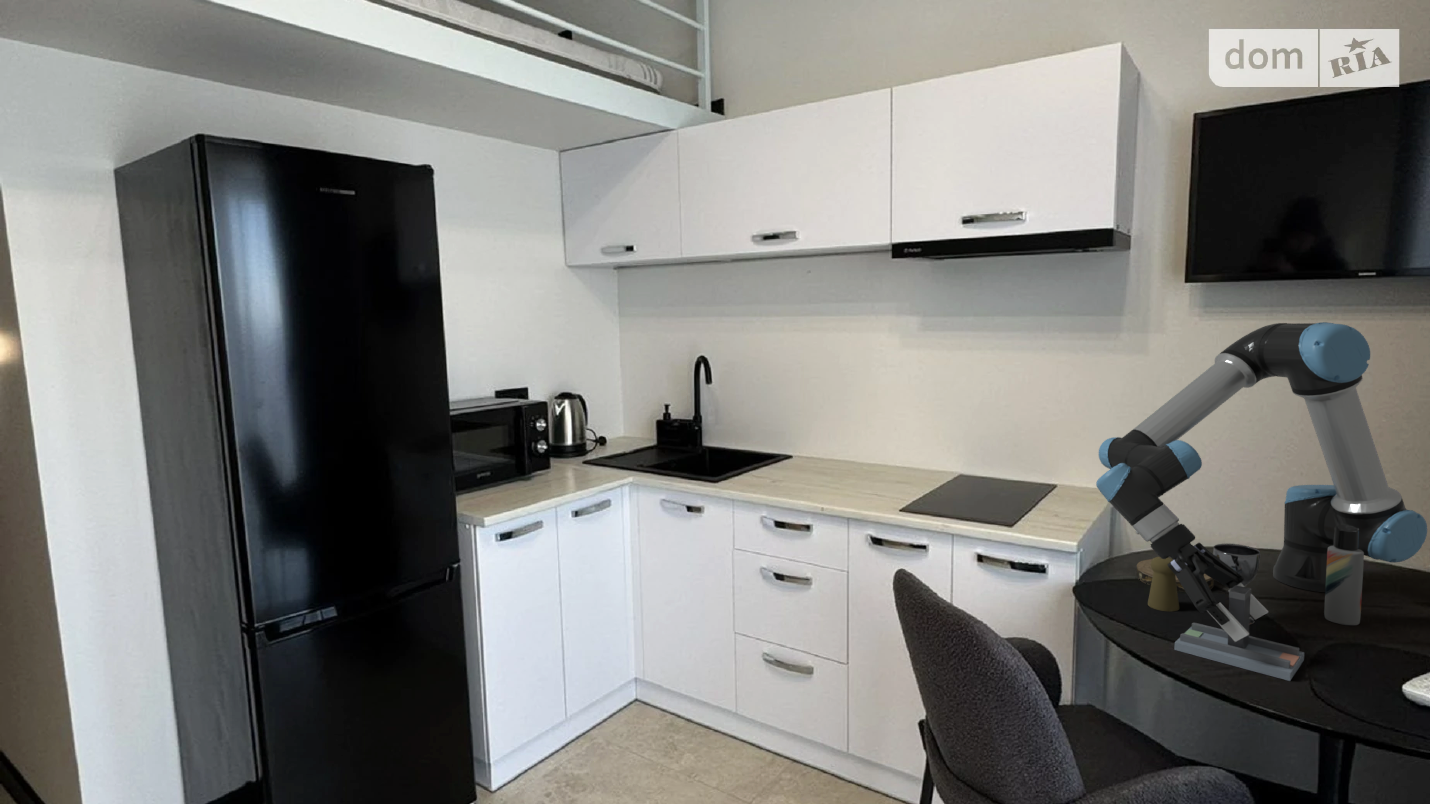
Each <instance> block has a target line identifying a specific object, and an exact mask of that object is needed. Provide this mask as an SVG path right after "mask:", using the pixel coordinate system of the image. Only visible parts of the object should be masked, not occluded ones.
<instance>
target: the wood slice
mask: <svg viewBox="0 0 1430 804" xmlns="http://www.w3.org/2000/svg"><path fill="white" fill-rule="evenodd" d="M1152 559H1153V558H1149V559H1143V560H1140V561H1138V563H1137V564H1136V577H1137V579H1138V580H1139V579H1140V580H1139V581H1141V582H1142V583H1144V584H1146V583H1147V584H1146V585H1149V586H1151V583H1152V577H1153V572H1154V571H1153V570H1152V569H1151V561H1152ZM1175 577H1176V575H1175ZM1204 578H1205V580H1206V582H1207V584H1208V586H1209V588H1210V590H1212V589H1213V588H1214V586H1215V580H1214V579H1212V578H1211V577H1209V576H1207V575H1206V574H1204ZM1176 585H1177V592H1183V593H1186V591H1185V590H1184V588H1183V586H1182V585H1181V583H1180V582H1179V580H1178V578H1177V577H1176Z"/></svg>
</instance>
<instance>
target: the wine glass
mask: <svg viewBox="0 0 1430 804" xmlns="http://www.w3.org/2000/svg"><path fill="white" fill-rule="evenodd" d="M1212 554H1213V555H1215V556H1216V557H1218V558H1219V559H1220V560H1222V561H1223V562H1224V563H1226V564H1227V565H1228V566H1230V567H1231V568H1232V569H1234V570H1235V571H1236V572H1238V573H1239V574H1240V575H1241V576H1242V577H1243V578H1244V581H1242V582H1240V583H1242V584H1243V585H1244V586H1245V587H1247V585H1248V584H1250V583H1251V582H1252V581H1253V580H1255V578H1256V576H1257V574H1258V571H1259V568H1260V560H1261V552H1260V550H1259V549H1257V548H1255V547H1253V546H1249V545H1244V544H1238V543H1217V544H1214V545H1213V553H1212ZM1230 589H1231V588H1228V590H1230ZM1254 620H1255V619H1254V618H1253V617H1252V616H1250V621H1249V626H1250V625H1253V624H1254V623H1255V622H1256V620H1255V621H1254Z"/></svg>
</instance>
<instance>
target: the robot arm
mask: <svg viewBox="0 0 1430 804" xmlns="http://www.w3.org/2000/svg"><path fill="white" fill-rule="evenodd" d="M1370 360H1371V349H1370V346H1369V342H1368V341H1367V339H1366V338H1365V335H1363V334H1362V333H1361V332H1360V331H1359V330H1357V329H1356V328H1354V327H1352V326H1349V325H1347V324H1341V323H1334V322H1324V321H1323V322H1317V323H1316V322H1315V323H1313V322H1312V323H1310V322H1309V323H1302V322H1301V323H1300V322H1299V323H1294V322H1293V323H1287V322H1278V323H1272V324H1268V325H1264V326H1262V327H1260V328H1257V329H1255V330H1252V331H1251V332H1249V333H1247V334H1245V335H1244V336H1242V337H1240V338H1239V339H1237V340H1236V341H1234V342H1233V343H1232V344H1230V345H1229V346H1227V347H1226V348H1225V349H1223V350H1222V351H1221V352H1220V353H1219V354H1217V355H1216V356H1215V358H1214V364H1213V365H1211V366H1210V367H1209V368H1208V369H1206V370H1205V371H1204V372H1202V374H1200V375H1199V376H1197V377H1196V378H1195V379H1193V381H1191V382H1190V383H1188V384H1187V385H1186V386H1185V387H1184V388H1182V389H1181V390H1180V391H1178V393H1176V394H1175V395H1174V396H1172V397H1171V398H1170V399H1169V400H1168V401H1167V402H1165V403H1164V404H1163V405H1161V406H1160V407H1159V408H1158V409H1157V410H1155V411H1153V413H1151V414H1150V415H1149V416H1148V417H1147V418H1145V419H1144V420H1142V421H1141V422H1140V423H1139V424H1138V425H1137V426H1135V427H1134V428H1133V429H1132V430H1130V431H1129V432H1127V433H1126V434H1125V435H1124V436H1123V437H1121V436H1117V437H1109V438H1107V439H1105V440H1103V442H1102V443H1101V444H1100V446H1099V449H1098V459H1099V461H1100V464H1102V465H1103V466H1104V467H1105V468H1107V469H1108V470H1107V471H1106V472H1105V473H1103V474H1102V475H1101V476H1100V477H1099V478H1098V479H1097V481H1096V483H1095V484H1096V488H1097V489H1098V491H1100V493H1101V495H1102V496H1103V497H1104V498H1105V499H1106V501H1107V502H1108V503H1110V504H1111V506H1112V507H1113V508H1115V510H1116V512H1118V513H1119V514H1120V515H1121V516H1122V517H1123V518H1124V519H1125V520H1126V521H1127V523H1129V524H1130V526H1131V527H1132V528H1133V529H1134V530H1135V531H1134V533H1135V534H1136V535H1140V537H1141V538H1142V539H1143V540H1144V541H1145V542H1147V543H1149V542H1150V548H1151V549H1152V550H1153V551H1154V552H1155V553H1156V554H1157V556H1158V557H1160V558H1162V559H1166V558H1168V557H1169V558H1172V559H1173V561H1172V562H1170V563H1169V564H1168V567H1169V568H1170V569H1171V570H1172V572H1173V573H1174V574H1175V575H1176V577H1177V578H1178V580H1179V582H1180V583H1181V585H1182V586H1183V588H1184V590H1185V591H1186V592H1185V594H1187V596H1188V597H1189V599H1190V601H1191V603H1192V604H1193V605H1194V607H1195V608H1196V610H1197V611H1199V613H1202V614H1203V613H1205V612H1207V613H1208V614H1209V615H1210V616H1211V617H1212V618H1213V619H1214V621H1216V623H1217V624H1218V625H1219V626H1220V627H1221V629H1223V630H1225V631H1226V632H1227V633H1228V635H1229V636H1230V637H1231V638H1232V639H1233V640H1234V641H1235V642H1236V641H1238V640H1240V639H1242V638H1244V637H1245V636H1247V635H1249V636H1250V632H1249V633H1248V632H1247V630H1246V629H1245V628H1244V627H1243V626H1242V625H1241V624H1240V623H1239V622H1238V621H1237V620H1236V619H1235V618H1234V617H1233V615H1232V614H1231V613H1230V612H1229V609H1227V608H1226V607H1225V606H1224V605H1223V604H1222V602H1219V603H1218V602H1217V600H1216V597H1215V596H1214V594H1213V592H1212V589H1210V588H1209V586H1208V584H1207V582H1206V580H1205V578H1204V574H1206V575H1207V576H1209V577H1211V578H1212V579H1214V581H1216V582H1218V583H1219V584H1221V585H1223V586H1224V587H1226V588H1228V590H1227V591H1228V592H1229V591H1230V590H1231V589H1232V588H1233V587H1234V586H1235V585H1237V586H1242V587H1246V586H1244V585H1243V584H1242V583H1240V582H1242V581H1244V578H1243V577H1242V576H1241V575H1240V574H1239V573H1238V572H1236V571H1235V570H1234V569H1232V568H1231V567H1230V566H1228V565H1227V564H1226V563H1224V562H1223V561H1222V560H1220V559H1219V558H1218V557H1216V556H1215V555H1214V554H1213V553H1212V552H1211V551H1210V550H1209V549H1208V548H1206V547H1205V546H1204V544H1202V543H1201V542H1197V543H1195V544H1194V545H1193V544H1192V542H1194V541H1195V540H1196V535H1195V534H1194V533H1193V532H1192V531H1191V530H1190V529H1189V528H1188V527H1187V526H1186V525H1185V524H1183V523H1179V522H1180V518H1179V517H1178V516H1177V515H1176V514H1175V513H1174V512H1173V511H1172V510H1171V509H1170V508H1169V507H1168V506H1167V505H1166V504H1165V502H1163V501H1162V500H1161V498H1160V497H1162V496H1163V495H1165V494H1166V493H1168V492H1169V491H1171V490H1172V489H1174V488H1176V487H1177V486H1178V485H1180V484H1182V483H1184V482H1186V481H1187V480H1190V477H1192V476H1193V475H1194V474H1196V473H1197V472H1199V471H1200V470H1201V468H1202V466H1203V461H1202V458H1201V456H1200V454H1199V453H1198V452H1197V450H1196V449H1195V447H1193V446H1192V445H1191V444H1189V443H1188V442H1186V441H1183V440H1181V439H1180V438H1181V437H1182V436H1184V435H1186V433H1188V432H1189V431H1190V430H1191V429H1193V428H1194V427H1196V426H1197V425H1198V424H1200V422H1202V421H1203V420H1204V419H1205V418H1206V417H1208V416H1209V415H1211V414H1212V413H1213V412H1214V411H1216V410H1217V409H1218V408H1219V407H1220V406H1223V404H1224V403H1226V402H1227V401H1228V400H1229V399H1231V398H1232V397H1233V396H1234V395H1236V394H1237V393H1238V392H1240V391H1241V390H1242V389H1244V388H1246V389H1247V388H1252V387H1254V386H1255V385H1257V383H1259V382H1260V381H1262V380H1264V379H1269V378H1273V377H1279V378H1287V380H1288V383H1289V386H1290V389H1291V391H1292V393H1293V394H1294V395H1295V396H1298V397H1300V398H1302V399H1303V400H1304V402H1305V405H1306V409H1307V410H1308V414H1309V417H1310V420H1311V422H1312V425H1313V427H1314V431H1315V434H1316V438H1317V440H1318V443H1319V446H1320V449H1321V451H1322V455H1323V457H1324V461H1325V463H1326V467H1327V469H1328V472H1329V475H1330V477H1331V481H1332V484H1299V485H1294V486H1290V487H1288V489H1287V490H1286V494H1285V495H1286V496H1285V501H1284V518H1283V519H1284V521H1283V522H1284V523H1283V546H1282V549H1281V550H1280V552H1279V555H1278V557H1277V560H1276V562H1275V564H1274V565H1273V569H1272V570H1273V571H1272V573H1273V574H1272V577H1273V578H1274V579H1275V580H1276V581H1278V582H1280V583H1282V584H1284V585H1287V586H1290V587H1294V588H1297V589H1301V590H1306V591H1313V592H1319V593H1325V589H1326V569H1327V551H1328V547H1330V546H1333V544H1334V529H1335V527H1337V525H1340V524H1345V525H1350V526H1353V527H1355V528H1358V529H1359V546H1358V549H1360V550H1362V551H1363V552H1364V557H1365V556H1366V557H1368V558H1371V559H1372V560H1377V561H1378V560H1379V561H1383V562H1387V563H1394V564H1395V563H1402V562H1404V561H1407V560H1408V559H1409V560H1410V559H1411V558H1412V557H1414V556H1416V554H1417V553H1418V552H1419V551H1420V549H1422V547H1423V545H1424V543H1425V542H1426V538H1427V537H1428V536H1427V535H1428V523H1427V521H1426V519H1425V517H1424V516H1423V515H1422V514H1420V513H1418V512H1416V511H1415V510H1412V509H1407V508H1406V505H1405V503H1404V499H1403V496H1402V494H1401V492H1400V491H1398V489H1395V488H1392V487H1391V486H1390V487H1389V483H1388V481H1387V479H1386V478H1387V477H1386V475H1385V471H1384V469H1383V466H1382V463H1381V460H1380V457H1379V455H1378V451H1377V447H1376V444H1375V442H1374V438H1373V436H1372V433H1371V429H1370V426H1369V424H1368V421H1367V417H1366V415H1365V411H1364V409H1363V406H1362V402H1361V400H1360V396H1359V393H1358V390H1357V387H1358V386H1359V385H1360V384H1361V382H1362V381H1363V374H1364V373H1365V372H1366V371H1367V369H1368V367H1369V363H1368V361H1370ZM1229 588H1231V589H1229ZM1268 613H1269V610H1268V608H1266V607H1265V606H1264V605H1263V604H1262V603H1261V602H1260V601H1259V600H1258V599H1257V598H1256V597H1255V595H1254V594H1252V593H1251V595H1250V617H1251V618H1253V619H1254V620H1255V621H1256V620H1257V619H1259V618H1261V617H1263V616H1264V615H1266V614H1268Z"/></svg>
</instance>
